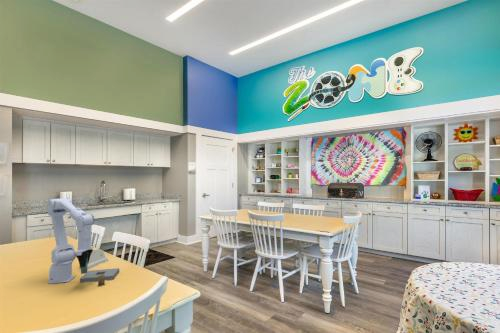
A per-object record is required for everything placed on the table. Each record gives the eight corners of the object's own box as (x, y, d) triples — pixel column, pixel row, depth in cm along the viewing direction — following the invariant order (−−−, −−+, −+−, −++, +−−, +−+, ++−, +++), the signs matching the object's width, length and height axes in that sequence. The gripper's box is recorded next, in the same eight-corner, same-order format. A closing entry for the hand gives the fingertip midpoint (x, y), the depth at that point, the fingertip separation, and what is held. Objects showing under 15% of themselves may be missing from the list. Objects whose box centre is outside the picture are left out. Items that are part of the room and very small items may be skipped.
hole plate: (79, 282, 134) (79, 278, 134) (88, 274, 146) (88, 270, 146) (113, 279, 138) (113, 275, 138) (119, 271, 149) (119, 268, 149)
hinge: (87, 269, 153) (82, 253, 154) (81, 271, 154) (76, 255, 155) (108, 260, 170) (104, 246, 171) (102, 262, 170) (98, 248, 172)
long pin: (79, 274, 128) (80, 253, 128) (82, 272, 130) (82, 252, 131) (86, 273, 128) (86, 253, 129) (88, 271, 131) (88, 251, 131)
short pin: (97, 286, 129) (97, 277, 129) (99, 284, 132) (99, 275, 132) (103, 285, 130) (103, 276, 130) (105, 283, 133) (105, 274, 133)
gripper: (88, 241, 124) (87, 270, 123) (98, 235, 138) (97, 260, 137) (71, 242, 122) (70, 271, 122) (83, 235, 136) (83, 261, 136)
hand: (84, 265), depth 129 cm, fingers closed on long pin, 3 cm apart
